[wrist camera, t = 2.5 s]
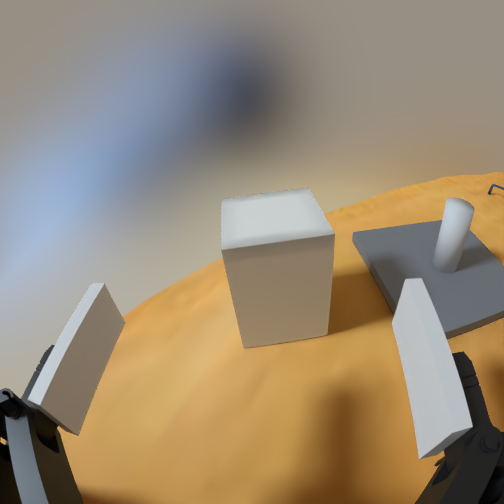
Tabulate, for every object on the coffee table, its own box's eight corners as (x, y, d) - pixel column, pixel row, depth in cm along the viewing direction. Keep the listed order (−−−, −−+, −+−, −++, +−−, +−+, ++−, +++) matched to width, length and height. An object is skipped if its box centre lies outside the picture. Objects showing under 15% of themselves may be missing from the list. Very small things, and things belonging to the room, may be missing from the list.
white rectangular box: (309, 280, 30) (308, 187, 24) (327, 335, 24) (334, 234, 18) (239, 291, 30) (221, 199, 24) (243, 348, 24) (221, 249, 18)
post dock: (455, 225, 34) (467, 170, 30) (525, 306, 21) (556, 243, 17) (352, 240, 34) (356, 175, 30) (411, 350, 21) (441, 274, 17)
